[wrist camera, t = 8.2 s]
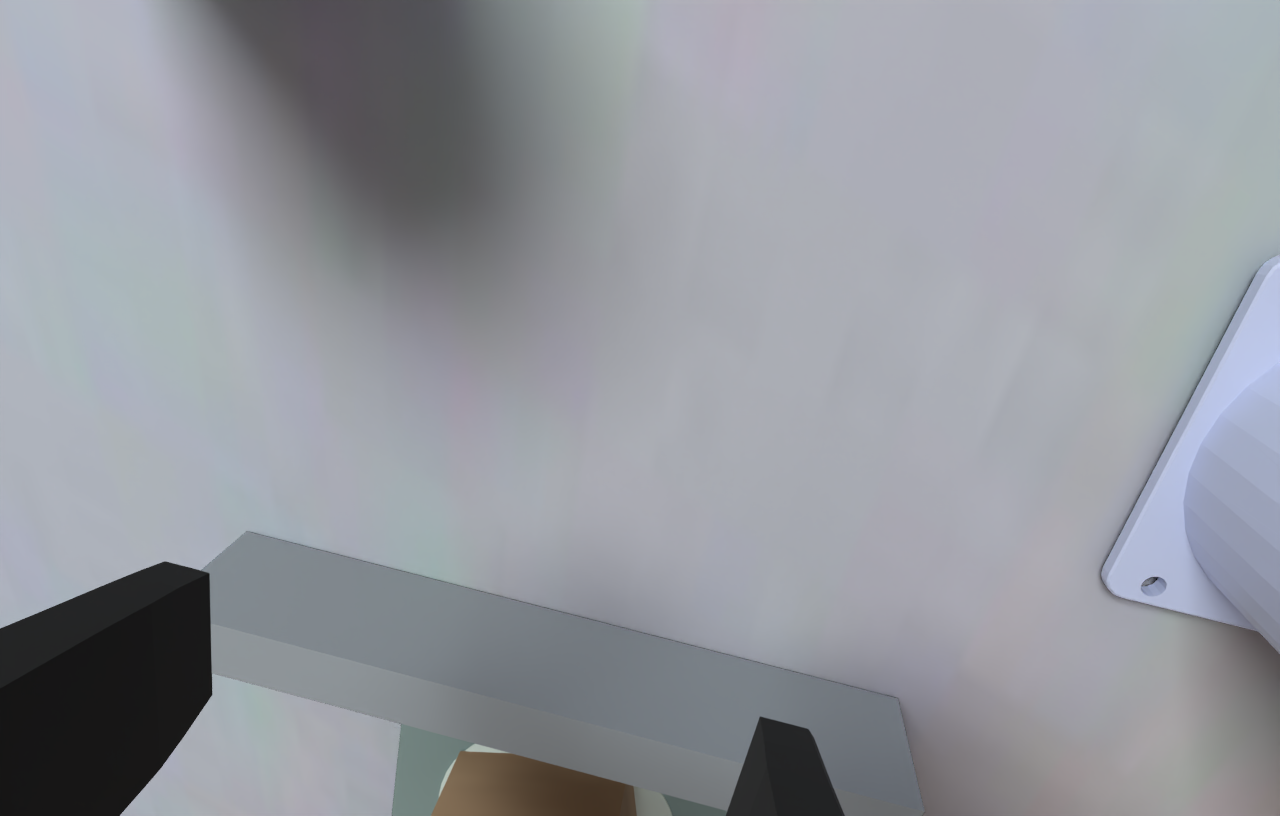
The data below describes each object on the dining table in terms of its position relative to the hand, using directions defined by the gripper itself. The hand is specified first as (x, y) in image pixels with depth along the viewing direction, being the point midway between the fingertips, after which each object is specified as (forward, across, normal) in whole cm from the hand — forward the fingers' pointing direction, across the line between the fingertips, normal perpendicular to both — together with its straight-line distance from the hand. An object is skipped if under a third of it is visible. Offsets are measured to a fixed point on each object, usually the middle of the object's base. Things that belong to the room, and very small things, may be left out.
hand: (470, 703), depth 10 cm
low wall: (+9, 0, +6) cm, 11 cm away
